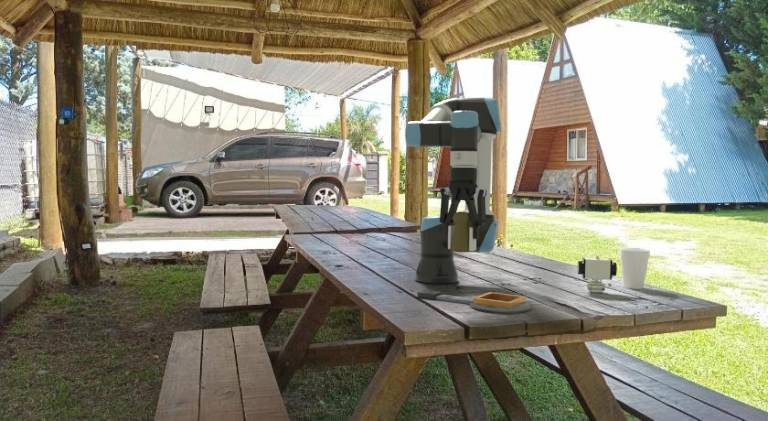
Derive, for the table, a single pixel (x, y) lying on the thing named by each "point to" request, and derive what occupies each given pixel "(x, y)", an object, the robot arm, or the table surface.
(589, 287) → the pneumatic valve
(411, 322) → the table surface
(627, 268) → the foam cup
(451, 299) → the round pan with handle
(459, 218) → the cork
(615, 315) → the table surface
